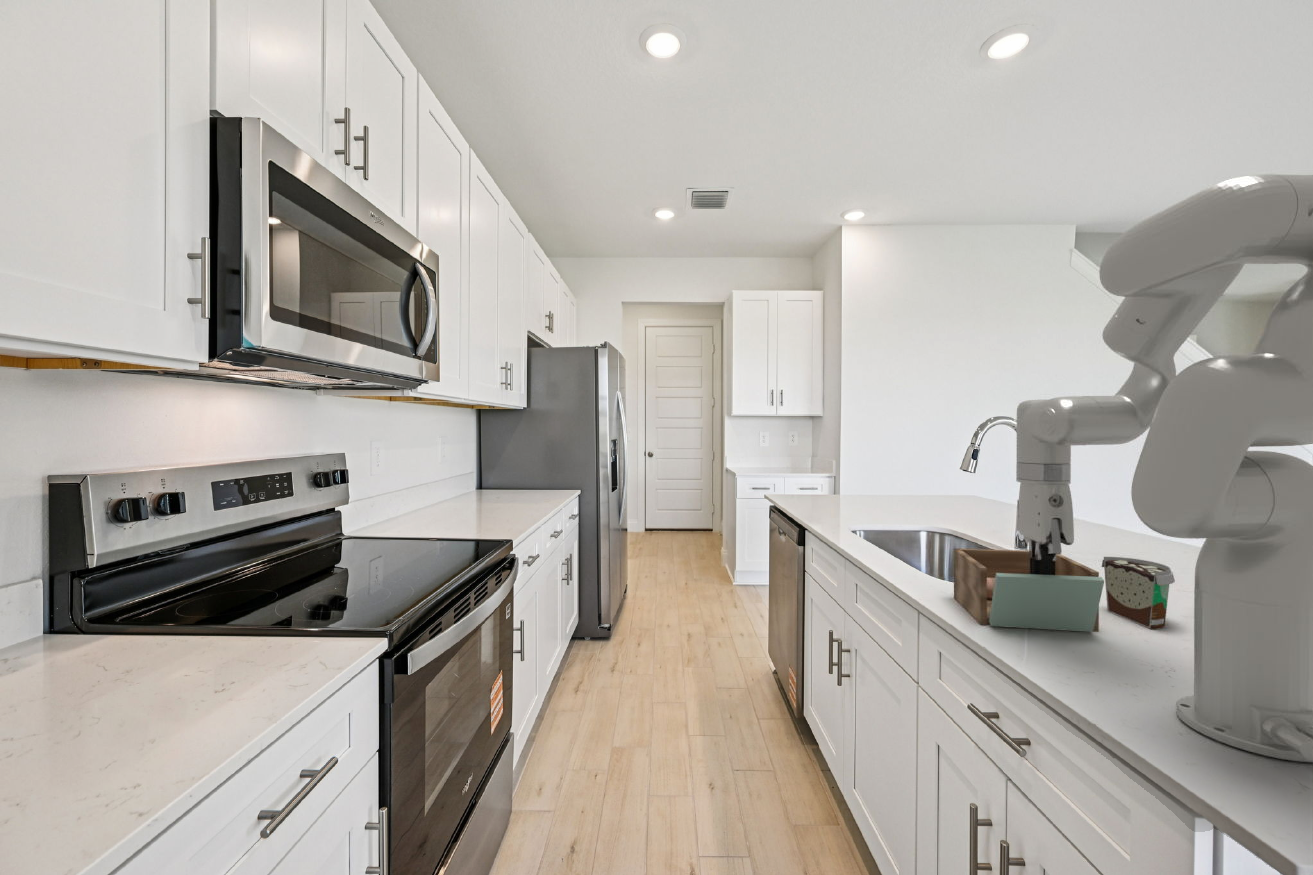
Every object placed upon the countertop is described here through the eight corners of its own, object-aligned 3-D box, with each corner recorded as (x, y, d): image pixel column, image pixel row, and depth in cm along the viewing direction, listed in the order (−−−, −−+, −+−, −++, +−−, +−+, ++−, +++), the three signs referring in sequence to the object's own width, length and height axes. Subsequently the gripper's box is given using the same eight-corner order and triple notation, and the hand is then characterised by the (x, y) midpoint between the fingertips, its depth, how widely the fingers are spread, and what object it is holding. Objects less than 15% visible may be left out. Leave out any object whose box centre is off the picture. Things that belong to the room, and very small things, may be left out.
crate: (1098, 631, 96) (1098, 572, 95) (980, 624, 99) (980, 567, 99) (1054, 602, 111) (1054, 551, 111) (953, 597, 115) (953, 548, 115)
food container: (1195, 632, 95) (1195, 572, 95) (1157, 632, 95) (1157, 572, 95) (1134, 608, 107) (1134, 555, 107) (1101, 608, 107) (1101, 555, 107)
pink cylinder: (1047, 604, 107) (1047, 582, 106) (982, 600, 109) (982, 580, 109) (1037, 597, 110) (1037, 577, 110) (975, 594, 113) (975, 574, 113)
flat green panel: (1093, 631, 95) (1104, 580, 91) (990, 625, 98) (998, 576, 95) (1090, 627, 96) (1101, 577, 92) (988, 621, 99) (995, 572, 96)
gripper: (1092, 478, 87) (1091, 597, 88) (1048, 470, 102) (1047, 572, 102) (1036, 477, 89) (1036, 594, 89) (1001, 469, 103) (1001, 570, 104)
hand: (1042, 582), depth 96 cm, fingers closed
